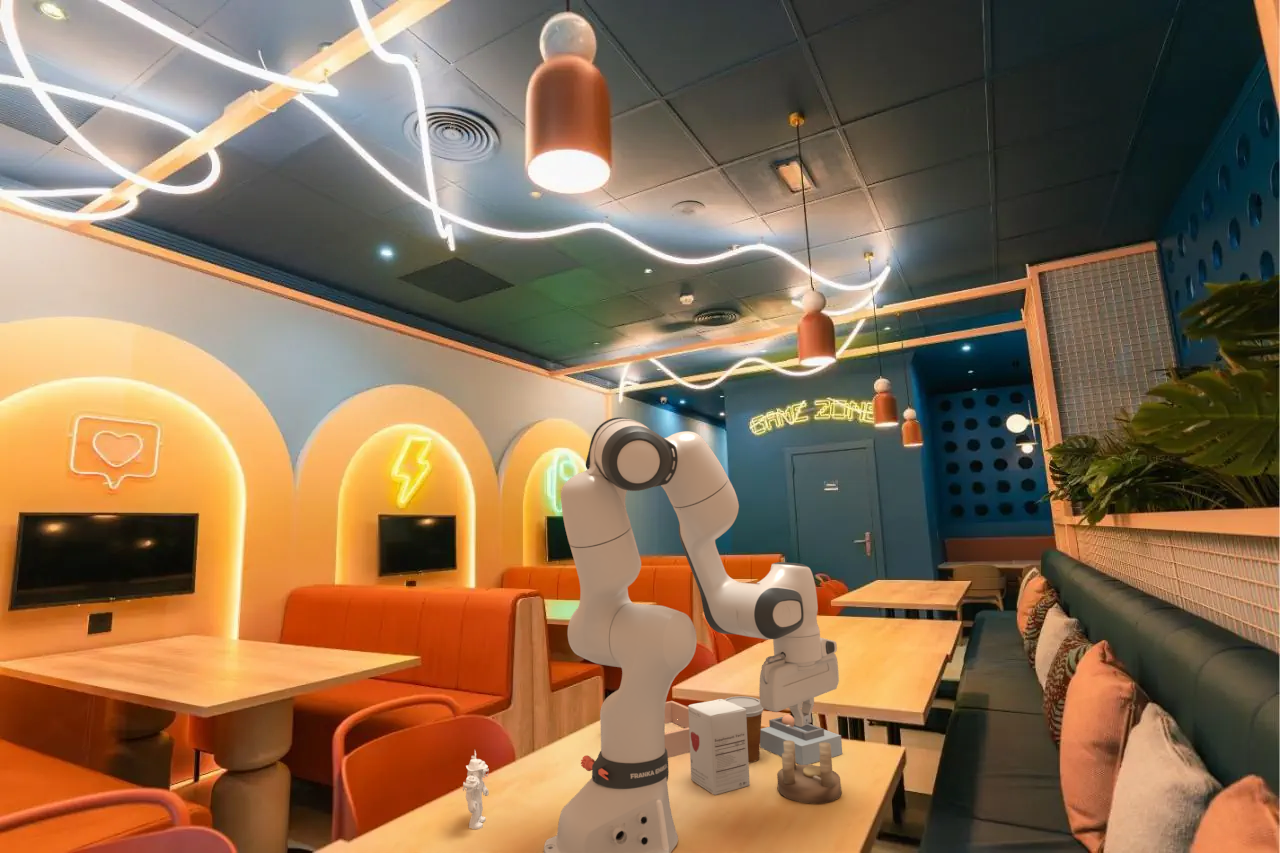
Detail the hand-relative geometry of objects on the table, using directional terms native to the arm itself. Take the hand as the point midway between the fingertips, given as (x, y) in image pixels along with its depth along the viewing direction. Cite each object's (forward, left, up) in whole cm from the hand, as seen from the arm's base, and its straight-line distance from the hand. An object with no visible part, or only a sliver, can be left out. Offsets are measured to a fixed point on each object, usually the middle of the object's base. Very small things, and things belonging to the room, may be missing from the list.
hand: (803, 724), depth 120 cm
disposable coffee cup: (+6, +26, -15) cm, 31 cm away
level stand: (+19, +22, -15) cm, 33 cm away
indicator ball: (+19, +26, -9) cm, 34 cm away
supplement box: (-7, +18, -15) cm, 25 cm away
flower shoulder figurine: (-54, +29, -15) cm, 63 cm away
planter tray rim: (-3, +47, -15) cm, 50 cm away
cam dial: (+5, +5, -15) cm, 17 cm away
